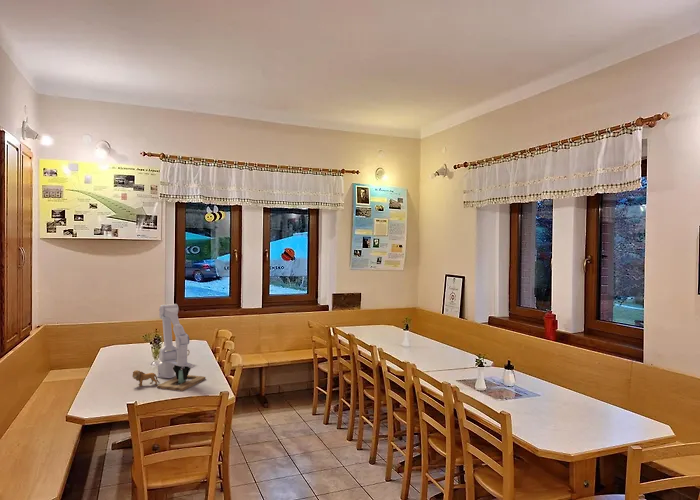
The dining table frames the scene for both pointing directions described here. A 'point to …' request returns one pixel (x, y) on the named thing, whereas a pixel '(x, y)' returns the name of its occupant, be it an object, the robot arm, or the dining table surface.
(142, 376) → the lion figurine
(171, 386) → the brown wooden frame
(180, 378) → the teal peg
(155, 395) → the dining table surface
